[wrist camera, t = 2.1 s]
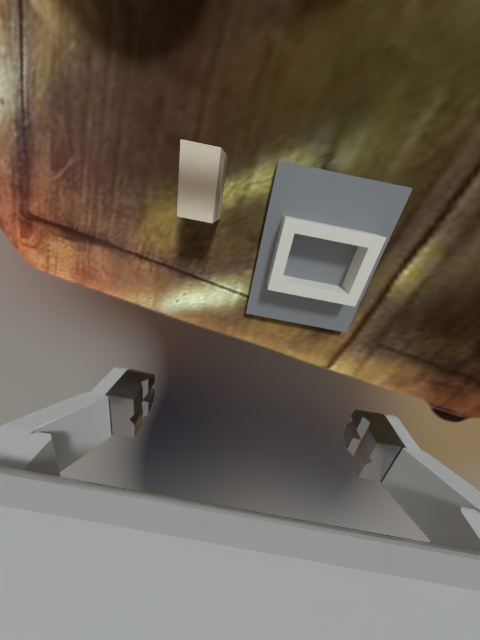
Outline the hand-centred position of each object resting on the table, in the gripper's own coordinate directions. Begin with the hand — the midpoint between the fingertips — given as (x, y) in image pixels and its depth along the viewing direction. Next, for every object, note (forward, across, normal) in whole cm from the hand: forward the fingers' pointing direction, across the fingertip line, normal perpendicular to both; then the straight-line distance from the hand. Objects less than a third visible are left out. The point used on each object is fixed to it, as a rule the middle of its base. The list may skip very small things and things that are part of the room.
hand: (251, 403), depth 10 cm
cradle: (+27, -8, -3) cm, 28 cm away
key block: (+26, +8, -10) cm, 29 cm away
